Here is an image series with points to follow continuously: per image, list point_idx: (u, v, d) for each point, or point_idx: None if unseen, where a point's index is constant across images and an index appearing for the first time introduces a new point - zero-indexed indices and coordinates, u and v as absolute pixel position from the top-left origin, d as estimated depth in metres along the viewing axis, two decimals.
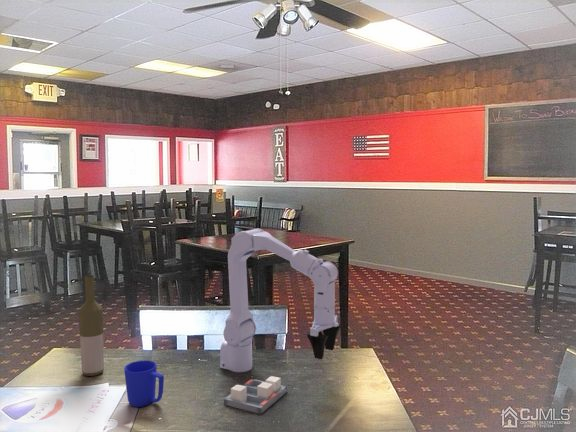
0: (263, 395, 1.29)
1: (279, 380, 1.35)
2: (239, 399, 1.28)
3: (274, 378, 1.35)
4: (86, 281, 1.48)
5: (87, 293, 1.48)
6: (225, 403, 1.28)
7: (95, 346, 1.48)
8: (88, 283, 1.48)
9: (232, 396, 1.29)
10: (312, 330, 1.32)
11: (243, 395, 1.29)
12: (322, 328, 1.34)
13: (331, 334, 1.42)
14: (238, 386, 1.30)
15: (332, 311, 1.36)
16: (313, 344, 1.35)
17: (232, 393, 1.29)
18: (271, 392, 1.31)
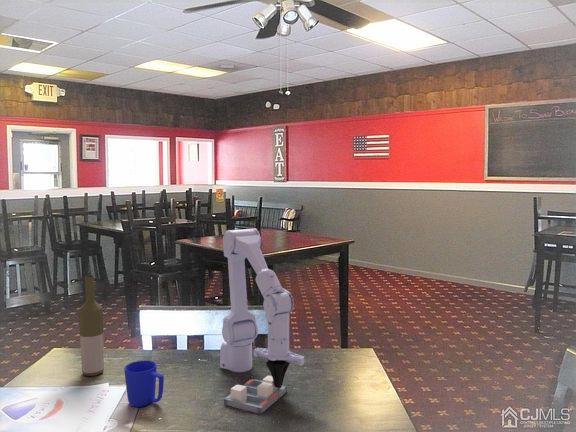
0: (263, 395, 1.29)
1: None
2: (239, 399, 1.28)
3: (271, 377, 1.35)
4: (86, 281, 1.48)
5: (87, 293, 1.48)
6: (225, 403, 1.28)
7: (95, 346, 1.48)
8: (88, 283, 1.48)
9: (232, 396, 1.29)
10: None
11: (243, 395, 1.29)
12: (260, 353, 1.34)
13: None
14: (238, 386, 1.30)
15: (271, 343, 1.31)
16: None
17: (232, 393, 1.29)
18: (271, 392, 1.31)
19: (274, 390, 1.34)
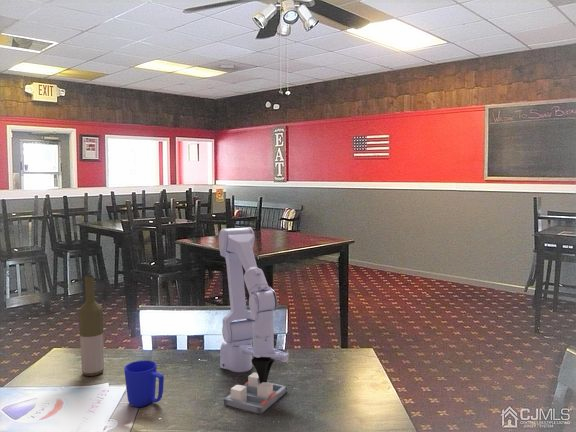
0: (263, 395, 1.29)
1: None
2: (239, 399, 1.28)
3: (257, 374, 1.37)
4: (86, 281, 1.48)
5: (87, 293, 1.48)
6: (225, 403, 1.28)
7: (95, 346, 1.48)
8: (88, 283, 1.48)
9: (232, 396, 1.29)
10: None
11: (243, 395, 1.29)
12: (245, 350, 1.36)
13: None
14: (238, 386, 1.30)
15: (255, 340, 1.33)
16: None
17: (232, 393, 1.29)
18: (271, 392, 1.31)
19: None
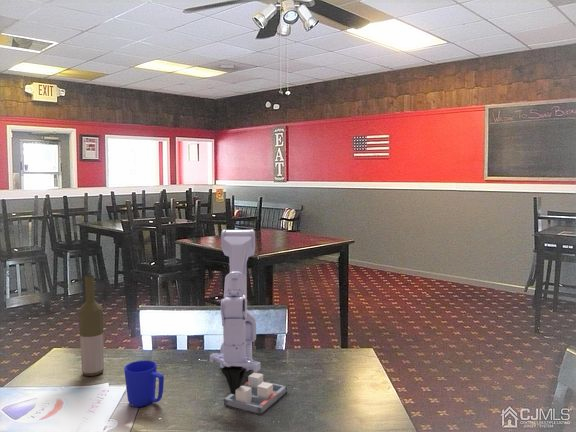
0: (263, 395, 1.29)
1: (262, 376, 1.37)
2: (244, 400, 1.27)
3: (257, 374, 1.37)
4: (86, 281, 1.48)
5: (87, 293, 1.48)
6: (225, 403, 1.28)
7: (95, 346, 1.48)
8: (88, 283, 1.48)
9: (237, 397, 1.28)
10: None
11: (248, 396, 1.28)
12: (216, 358, 1.30)
13: None
14: (243, 387, 1.29)
15: (226, 348, 1.27)
16: None
17: (237, 394, 1.28)
18: (271, 392, 1.31)
19: None
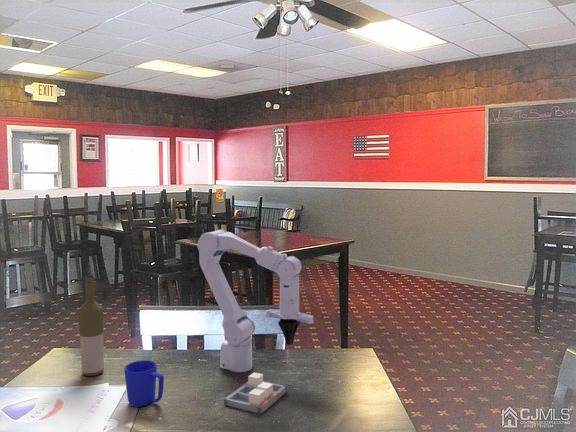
0: None
1: (262, 376, 1.37)
2: (257, 403, 1.25)
3: (257, 374, 1.37)
4: (86, 281, 1.48)
5: (87, 293, 1.48)
6: (225, 403, 1.28)
7: (95, 346, 1.48)
8: (88, 283, 1.48)
9: (250, 400, 1.26)
10: None
11: (261, 399, 1.26)
12: (272, 313, 1.47)
13: None
14: (256, 390, 1.27)
15: (282, 303, 1.43)
16: None
17: (250, 397, 1.26)
18: (271, 392, 1.31)
19: None
